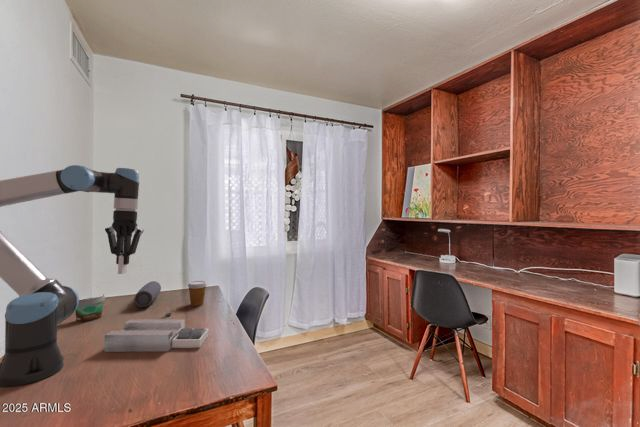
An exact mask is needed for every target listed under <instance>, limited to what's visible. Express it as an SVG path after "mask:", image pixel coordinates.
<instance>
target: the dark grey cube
mask: <svg viewBox="0 0 640 427" xmlns="http://www.w3.org/2000/svg"><path fill="white" fill-rule="evenodd" d="M192 329H193V331H192V332H191V339H200V338H201V336H202V335H203V334H204V332H205V329H206V328H192Z"/></svg>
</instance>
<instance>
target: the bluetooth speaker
mask: <svg viewBox="0 0 640 427" xmlns="http://www.w3.org/2000/svg"><path fill="white" fill-rule="evenodd" d="M161 290H162V286H161V284H160V282H158V281H156V280H155V281H154V280H153V281H152V280H151V281H149V282H147V283H146V284H145V285H143V286H142V287H141V288H140V289H139V290H138V291H137V293H135V296H134V303H135V305H137V306H138V307H140V308H142V307H143V308H144V307H147V306H151V304H152V303H153V302H155V300H156V299H157V297H158V296H159V294H160V293H161Z"/></svg>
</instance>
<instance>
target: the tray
mask: <svg viewBox="0 0 640 427" xmlns="http://www.w3.org/2000/svg"><path fill="white" fill-rule="evenodd" d="M193 329H194V328H192V331H193ZM204 329H205V332H204V334H203V335H202V336H201V338H200V339H181V340H178V335H177V336H176V337H175V338H174V339H173V340H172V348H171V349H200V348H201V347H202V346H203V345H204V344H205V342H206V340H207V339H208V338H209V333H210V332H209V328H204Z"/></svg>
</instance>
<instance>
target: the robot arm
mask: <svg viewBox="0 0 640 427" xmlns="http://www.w3.org/2000/svg"><path fill="white" fill-rule="evenodd" d="M139 187H140V172H139V171H138V170H137V169H134V168H128V167H117V168H116V169H115V171H114V172H104V171H96V170H94V169H91V168H89V167H87V166H84V165H78V164H77V165H75V164H74V165H73V164H72V165H68V166H67V167H65V168H64V169H63V168H62V169H59V170H53V171H47V172H42V173H37V174H36V173H35V174H30V175H25V176H20V177H19V176H18V177H13V178H8V179H7V178H6V179H1V180H0V208H1V207H5V206H7V207H8V206H11V205H15V204H20V203H25V202H30V201H36V200H41V199H45V198H50V197H55V196H60V195H65V194H73V193H76V192H84V193H100V194H101V193H102V194H103V193H104V194H113V195H114V200H113V209H115V210H114V211H112V212H113V214H112V215H113V216H112V219H113V222H112V224H111V226H108V227H105V229H104V231H105V232H106V234H107V238H108V243H109V249H110V253H111V255H115V256H116V261H115V264H116V265H118V266H117V275H118V274H119V275H123V274H127V266H128V265H129V263H130V257H131V255H135V254H136V251H137V247H138V245H139V241H140V238H141V236H142V234H143V233H144V231H145V230H144V229H143V228H139V226H138V224H137V221H138V211H137V210H138V208H139V206H138V205H139V192H140V191H139V190H140V189H139ZM0 279H2V281H3V282H5V284H7V285H8V287H9V288H11V290H13V292H15V293H16V294H17V295H18V297H16V298H14V299H12V300H11V301H9V303H8V304H7V305H6V308H5V313H4V319H5V320H4V321H5V322H4V325H5V326H4V327H5V329H4V330H5V331H4V333H5V336H4V338H5V339H4V341H5V342H4V356H3V358H2V360H1V361H0V386H1V387H16V386H23V385H27V384H32V383H36V382H39V381H41V380H44V379H46V378H49V377H51V376H53V375H56V374H57V373H58V372H59V371H61V370H62V368H64V364H65V363H64V359H65V358H64V356H63V355H62V352H61V350H60V347H59V345H58V344H59V343H58V326H59V325H61V323H63V322H64V321H65V320H67V319H68V318H70V317H71V316H72V315H74V314H73V313H75V310H76V309H77V307H78V304H79V300H80V298H79V294H78V293H77V291H76V290H75V289H74V288H73V287H71V286H67V285H63V284H61V283H60V281H58V280H57V279H56V278H49V277H47V276H46V275H45V274H44V273H43V272H42V271H41V270H40V268H38V267H37V266H36V265H35V264H34V263H33V262H32V261H31V260H30V258H28V257H27V256H26V255H25V254H24V253H23V252H22V251H21V250H20V249H19V248H18V247H17V246H16V245H15V244H14V243H13V242H12V241H11V240H10V239H9V238H8V236H7V235H5V234H4V233H3V232H2V231H1V230H0Z"/></svg>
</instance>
